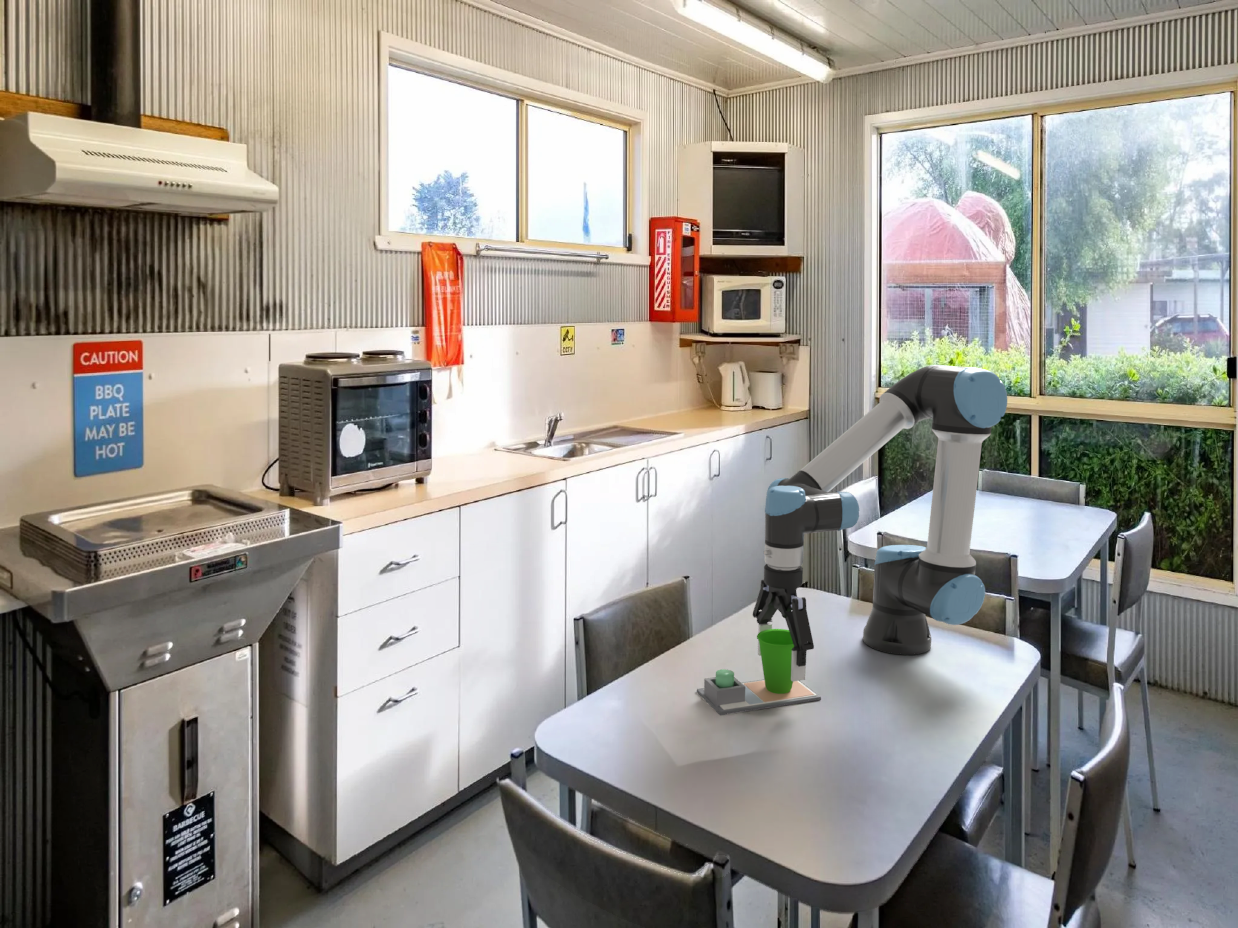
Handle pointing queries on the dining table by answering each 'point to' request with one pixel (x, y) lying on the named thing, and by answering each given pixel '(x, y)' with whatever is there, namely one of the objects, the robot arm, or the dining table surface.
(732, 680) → the button
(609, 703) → the dining table surface
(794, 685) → the grey holder tray
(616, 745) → the dining table surface
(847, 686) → the dining table surface
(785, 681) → the cup
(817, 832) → the dining table surface
